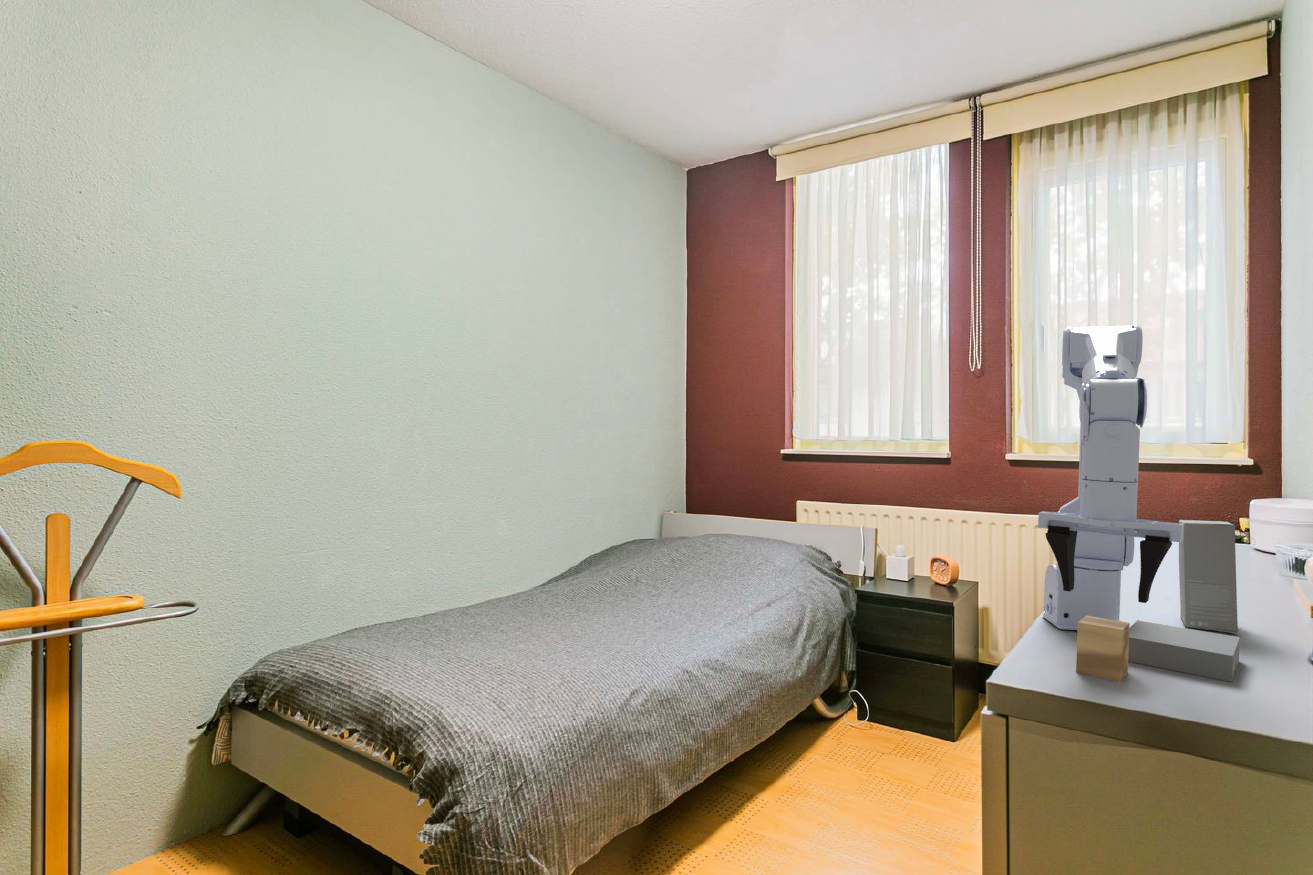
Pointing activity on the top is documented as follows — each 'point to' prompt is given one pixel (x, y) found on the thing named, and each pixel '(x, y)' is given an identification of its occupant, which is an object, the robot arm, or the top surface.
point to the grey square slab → (1184, 650)
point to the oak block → (1102, 648)
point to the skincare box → (1208, 576)
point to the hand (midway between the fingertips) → (1104, 595)
